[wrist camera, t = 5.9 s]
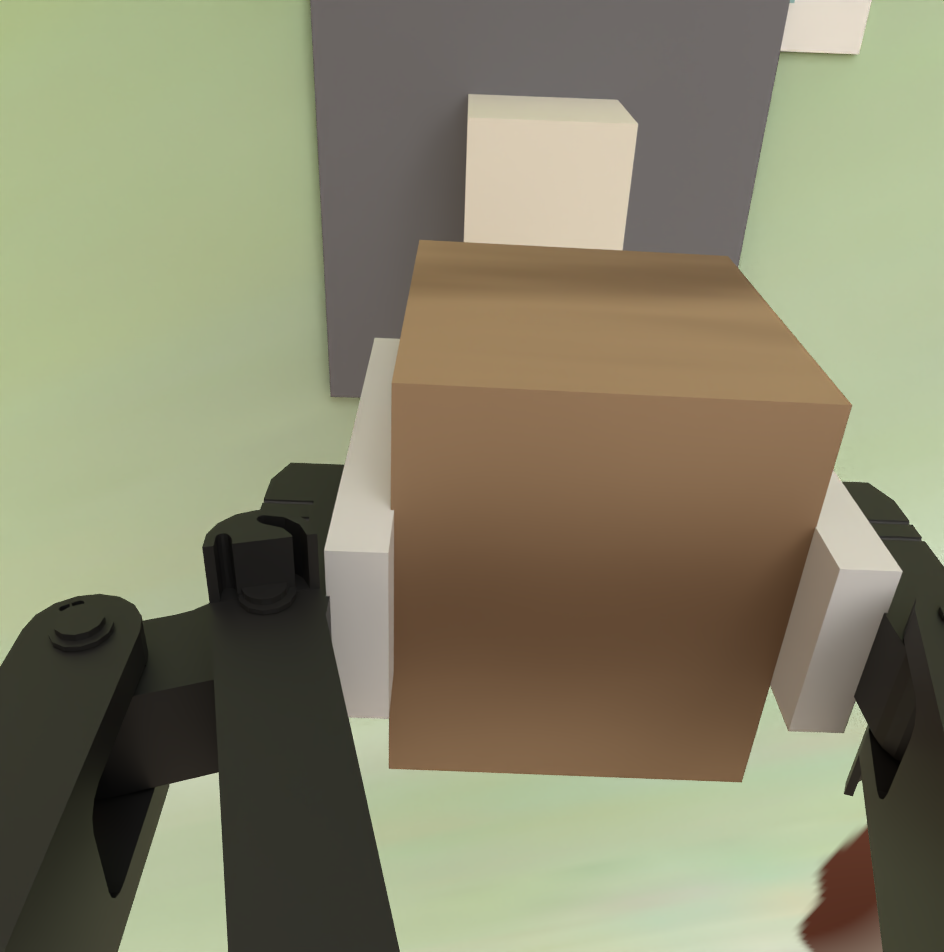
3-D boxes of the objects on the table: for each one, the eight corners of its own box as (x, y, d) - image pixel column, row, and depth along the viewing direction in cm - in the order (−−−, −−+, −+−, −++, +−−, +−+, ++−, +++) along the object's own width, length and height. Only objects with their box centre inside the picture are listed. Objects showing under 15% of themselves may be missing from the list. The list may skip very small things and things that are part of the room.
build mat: (310, -45, 26) (282, -40, 22) (789, -25, 26) (843, -17, 22) (332, 390, 33) (314, 450, 30) (707, 402, 34) (737, 464, 30)
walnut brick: (419, 239, 16) (390, 382, 10) (727, 256, 16) (853, 405, 11) (412, 543, 19) (389, 768, 14) (668, 555, 19) (741, 782, 14)
